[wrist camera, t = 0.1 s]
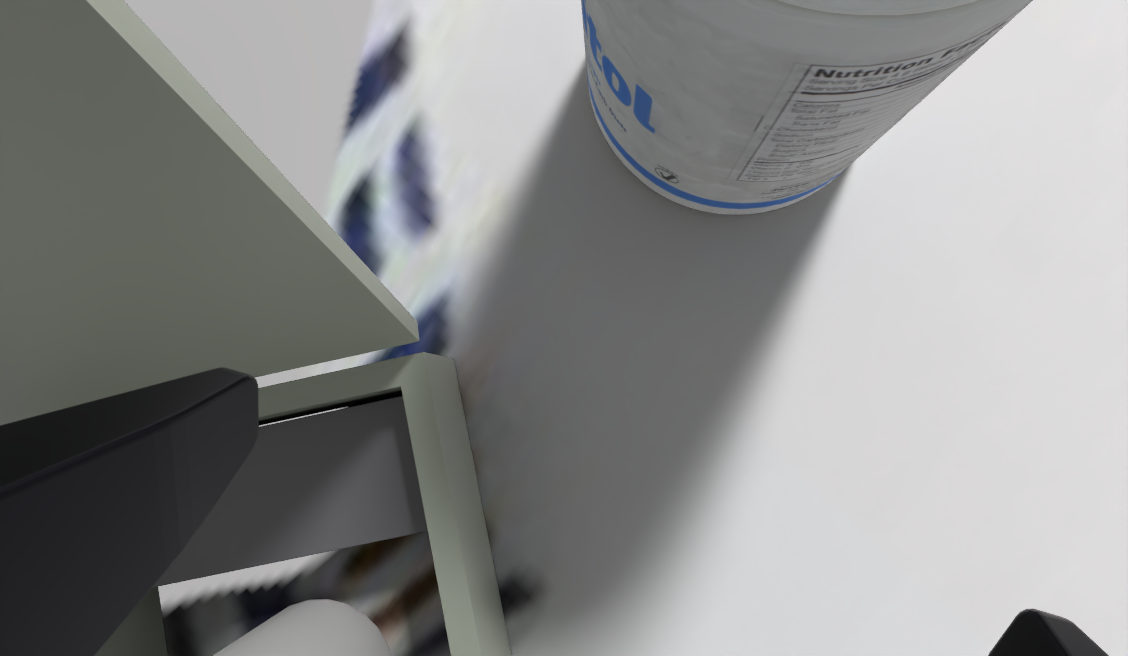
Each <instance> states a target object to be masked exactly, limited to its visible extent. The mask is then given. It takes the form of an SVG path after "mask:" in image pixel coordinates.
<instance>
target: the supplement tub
mask: <svg viewBox="0 0 1128 656" xmlns="http://www.w3.org/2000/svg"><path fill="white" fill-rule="evenodd" d="M1031 1H1033V0H581V3H582V15H583V28H584V42H585V54H586V67H587V77H588V87H589V94H590V100H591V104H592V108H593V111H594V114H595V118H596V120H597V123H598V125H599V127H600V129H601V131H602V133H603V135H604V137H605V139H606V140H607V142H608V144H609V145H610V147H611V148H612V150H613V151H614V153H615V154H616V155H617V157H618V158H619V159H620V160H621V162H622V163H623V164H624V165H625V166H626V167H627V168H628V169H629V170H630V171H631V172H632V173H633V174H634V175H635V176H636V177H637V178H638V179H639V180H641V181H642V182H643V183H644V184H645V185H647V186H648V187H649V188H651V189H652V190H654V191H655V192H657V193H658V194H660V195H662V196H664V197H666V198H667V199H669V200H671V201H673V202H676V203H678V204H681V205H683V206H686V207H689V208H693V209H696V210H700V211H705V212H710V213H716V214H729V215H743V214H756V213H761V212H767V211H772V210H776V209H779V208H783V207H786V206H788V205H791V204H793V203H796V202H798V201H800V200H802V199H804V198H806V197H808V196H810V195H812V194H813V193H815V192H817V191H818V190H820V189H821V188H823V187H824V186H826V185H827V184H828V183H830V182H831V181H833V180H834V179H835V178H836V177H837V176H838V175H839V174H840V173H841V172H843V171H844V170H845V169H846V168H847V167H848V166H849V165H850V164H852V163H853V162H854V161H855V160H856V159H857V158H858V157H859V156H860V155H862V154H863V153H864V152H865V151H866V150H867V149H868V148H869V147H870V146H872V145H873V144H874V143H875V142H876V141H877V140H878V139H879V138H880V137H881V136H883V135H884V134H885V133H886V132H887V131H888V130H889V129H891V128H892V127H893V126H894V125H895V124H896V123H897V122H898V121H900V120H901V119H902V118H903V117H904V116H905V115H906V114H907V113H908V112H909V111H910V110H912V109H913V108H914V107H915V106H916V105H917V104H918V103H920V102H921V101H922V100H923V99H924V98H925V97H926V96H927V95H928V94H929V93H931V92H932V91H933V90H934V89H935V88H936V87H937V86H938V85H939V84H940V83H941V82H943V81H944V80H945V79H946V78H947V77H948V76H949V75H950V74H951V73H952V72H954V71H955V70H956V69H957V68H958V67H959V66H960V65H961V64H962V63H964V62H965V61H966V60H967V59H968V58H969V57H970V56H971V55H972V54H974V53H975V52H976V51H977V50H978V49H979V48H980V47H981V46H983V45H984V44H985V43H986V42H987V41H988V40H989V39H990V38H991V37H993V36H994V35H995V34H996V33H997V32H998V31H999V30H1000V29H1002V28H1003V27H1004V26H1005V25H1006V24H1007V23H1008V22H1009V21H1011V20H1012V19H1013V18H1014V17H1015V16H1016V15H1017V14H1018V13H1019V12H1020V11H1022V10H1023V9H1024V8H1025V7H1026V6H1027V5H1028V4H1029V3H1030V2H1031Z"/></svg>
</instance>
